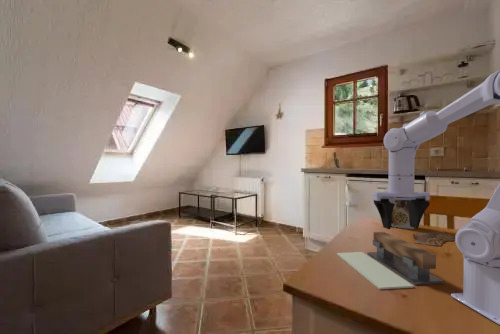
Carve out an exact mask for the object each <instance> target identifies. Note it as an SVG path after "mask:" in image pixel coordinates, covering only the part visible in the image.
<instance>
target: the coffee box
mask: <svg viewBox="0 0 500 334" xmlns="http://www.w3.org/2000/svg"><path fill="white" fill-rule="evenodd" d="M396 198H411V197H396ZM389 201H390V203H394V204H395V205H394V208H393V212H392V223H391V226H392V227H391V228H396V227H398V229H405V230H408V229H409V230H415V228H414V227H411V226H410V223H409V209H408V205H407V201H406V200H389Z"/></svg>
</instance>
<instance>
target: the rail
mask: <svg viewBox="0 0 500 334" xmlns="http://www.w3.org/2000/svg"><path fill="white" fill-rule="evenodd" d="M373 240H377V241H379V242H381V243H382V248H384V249H386V250H388V251H389V252H391V253H393V254H395V255H397V256H399V257H400V258H402V259H403V256H408V257H410V258H412V259H414V260H416V266H417V267H419V268H421V269H430V270H435V269H436V268H437V254H436V253H432V252H430V251H428V250H427V249H424V248H422V247H419V246H418V245H416V244H413V243H410V242H407V241H406V240H404V239H401V238H399V237H396V236H394V235H393V234H392V235H391V234H390V233H387V232H385V231H374V232H373Z"/></svg>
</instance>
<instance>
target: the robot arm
mask: <svg viewBox="0 0 500 334" xmlns="http://www.w3.org/2000/svg"><path fill="white" fill-rule="evenodd" d="M497 104H498V105H499V104H500V69H499V70H497V71H495V72H492V73H491V74H490V75H489V76H487V78H486V79H485V80H484V81H483V82H482V83H480V84H478V85H477V86H475V87H474V88H473V89H470V90H469V91H468V92H466V93H465V94H462V96H460V97H458V98H457V99H455V100H454V101H453V102H451V103H449V104H448V105H446V106H445V107H443V108H442V109H441V110H439V111H436V110H429V111H422V112H420V113H419V116H418V117H416V118H415V119H413V120H412V121H410V122H408V123H404V124H403V125H402V127H399V128H398V127H393V128H390V129H389V130H388V131H387V132H386V133H385V135H384V137H383V145H384V148H385V149H386V150H387V151H388V183H387V184H388V186H387V187H388V188H387V189H388V190H386V191H377V192H372V196H371V197H372V201H373V203H374V206H375V207H376V209H377V211H378V213H379V216H380V219H381V223H382V228H384V229H387V230H391V229H392V227H391V223H392V212H393V208H394V205H395V204H394V203H390V201H389V200H406V201H407V205H408V209H409V223H410V226H411V227H414V229H419V226H420V224H421V220H422V218H423V216H424V214H425V212H426V210H427V209H428V208H429V206H430V205H431V204H430V203H431V202H430V198H431V197H430V196H431V195H430V192H427V191H415V157H416V156H417V150H418V149H419V147H420V146H421V144H423V143H426V142H427V141H430V140H431V139H433V138H436V137H437V136H440V135H441V134H443V133H445V132H446V131H447V129H448V125H450V124H451V123H454V122H455V121H458V120H460V119H462V118H466V116H468V115H469V116H470V115H472V114H473V113H476V112H478V111H481V110H482V109H484V108H486V107H488V106H490V105H497ZM396 197H411V198H396ZM454 237H455V238H454V241H455V245H456V247H457V249H458V251H460V252H461V254H462V258H463V277H462V279H463V283H462V285H463V286H462V288H463V290H462V292H457V293H455V292H453V293H451V294H450V297H452V298H453V299H455V300H457V301H459V302H460V303H462V304H464V305H465V306H467V307H469V308H470V309H472V310H473V311H475V312H477V313H479V314H480V315H482V316H484V317H485V318H486V319H489V320H490V321H492V322H494V323H496V324H497V325H499V326H500V182H498V184H497V187H496V189H495V190H494V192H493V194H492V196H491V197H490V198H489V201H488V202H487V204H486V206H485V207H484V208H483V209H482V210H480V211H479V212H478V213H476V214H475V215H474V216H472V217H471V219H470V221H469V222H468V223H467V224H466V225H465V226H463V227H461V228H460V229H458V230H457V231H456V234H455V236H454Z"/></svg>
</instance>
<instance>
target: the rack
mask: <svg viewBox="0 0 500 334" xmlns="http://www.w3.org/2000/svg"><path fill="white" fill-rule="evenodd" d="M372 246H374V247H376V251H372V252H370V251H369V252H368V251H367V253H366V255H368V256H369V257H371V258H372V259H374V260H375V261H377V262H378V263H380V264H381V265H383V266H385V267H386V268H388V269H389V270H391V271H392V272H394V273H395V274H397V275H398V276H400V277H401V278H403V279H404V280H406V281H407V282H409V283H411V284H412V285H414V286H420V285H421V286H423V285H438V284H444V280H443V279H441V278H439V277H437V276H436V275H433V273H432V274H431V273H430V271H431V269H421V268H419V267H417V266H416V260H414V259H412V258H410V257H408V256H403V259H402V258H401V257H399V256H397V255H395V254H393V253H391V252H389V251H388V250H386V249H384V248H382V243H381V242H379V241H377V240H374V239H372Z"/></svg>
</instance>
